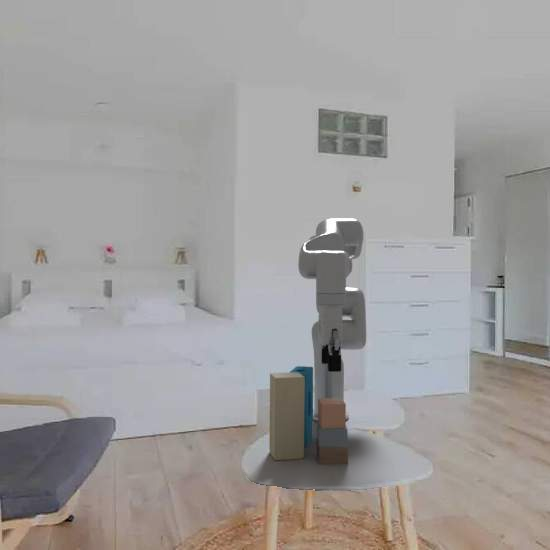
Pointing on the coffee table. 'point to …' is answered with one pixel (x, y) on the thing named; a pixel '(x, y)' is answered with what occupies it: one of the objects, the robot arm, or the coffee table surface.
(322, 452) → the tower bottom
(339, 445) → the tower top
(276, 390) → the cream box
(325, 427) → the terracotta cube
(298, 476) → the coffee table surface
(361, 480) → the coffee table surface
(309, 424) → the block
